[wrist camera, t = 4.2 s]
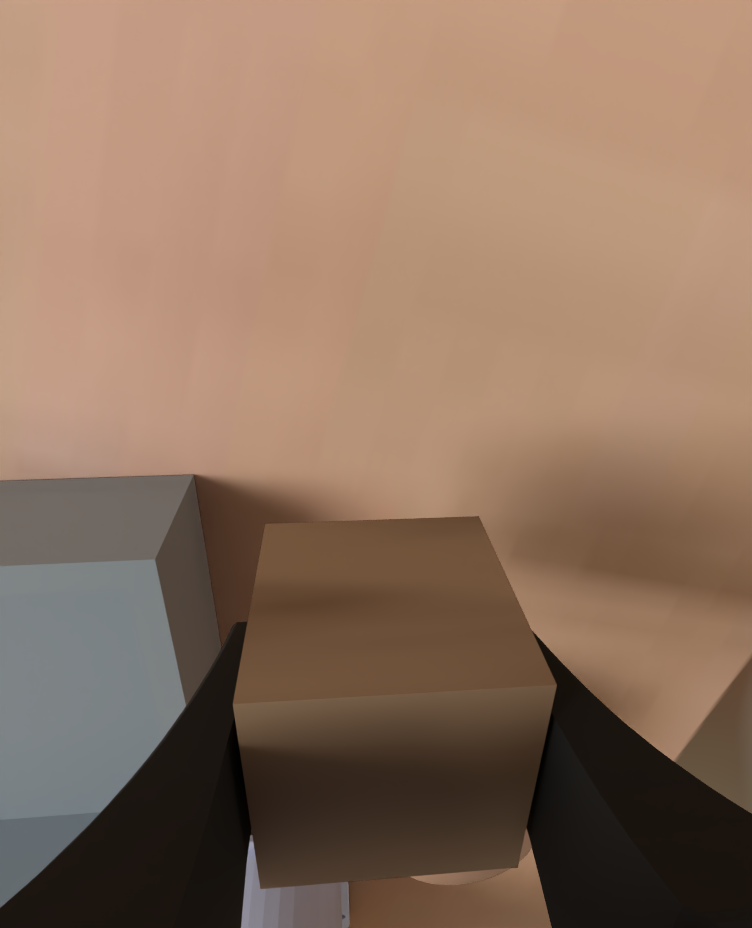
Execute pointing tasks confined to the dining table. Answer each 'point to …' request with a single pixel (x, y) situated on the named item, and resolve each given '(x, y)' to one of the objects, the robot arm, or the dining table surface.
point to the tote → (92, 648)
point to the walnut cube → (387, 703)
